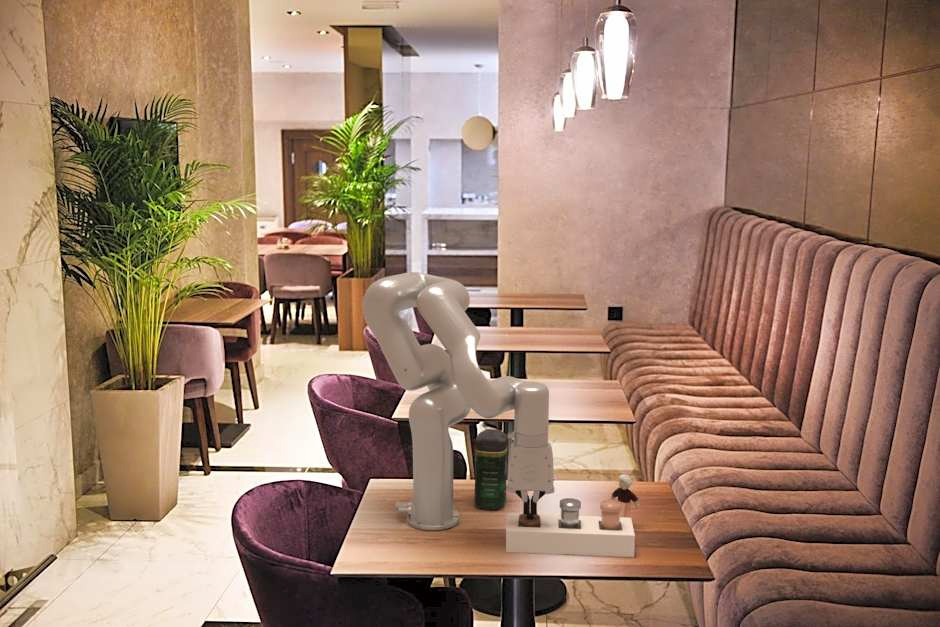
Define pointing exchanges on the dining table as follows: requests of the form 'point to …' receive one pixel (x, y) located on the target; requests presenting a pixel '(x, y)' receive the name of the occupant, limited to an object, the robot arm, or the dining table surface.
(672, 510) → the dining table surface
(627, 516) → the grandmother figurine
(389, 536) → the dining table surface
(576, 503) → the grey plug
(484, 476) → the coffee jar
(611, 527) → the terracotta plug
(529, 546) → the socket strip
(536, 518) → the walnut plug
